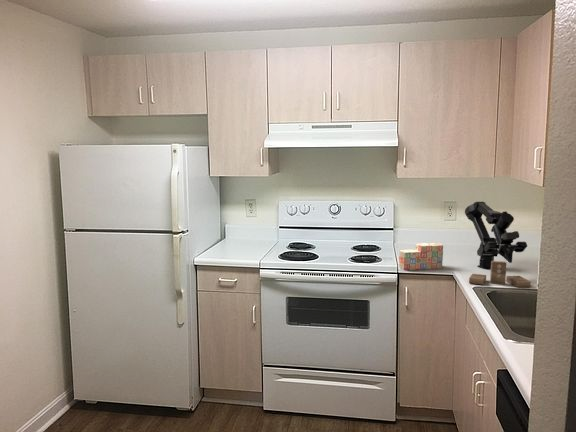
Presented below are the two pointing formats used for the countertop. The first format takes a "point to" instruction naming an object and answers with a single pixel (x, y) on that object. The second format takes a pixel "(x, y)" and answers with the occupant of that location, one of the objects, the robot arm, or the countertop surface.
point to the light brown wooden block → (498, 272)
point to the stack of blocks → (422, 257)
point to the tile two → (518, 281)
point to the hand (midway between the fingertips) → (510, 262)
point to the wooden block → (477, 279)
